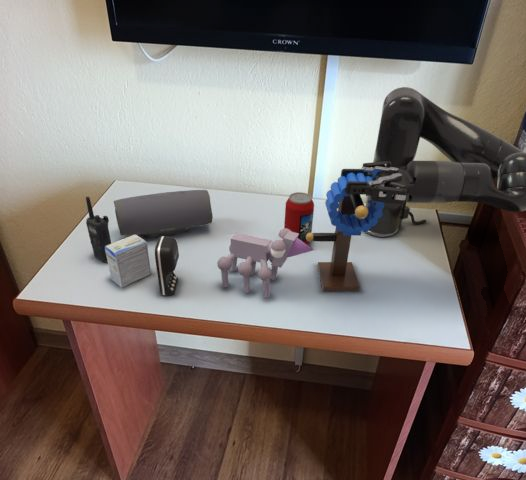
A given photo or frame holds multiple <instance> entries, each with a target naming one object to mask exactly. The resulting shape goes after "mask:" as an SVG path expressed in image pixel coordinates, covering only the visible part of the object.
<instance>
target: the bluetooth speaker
mask: <svg viewBox="0 0 526 480" xmlns="http://www.w3.org/2000/svg"><path fill="white" fill-rule="evenodd" d="M113 205H114V212H115V213H114V214H115V218H116V224H117V228H118V231H119V236H132V235H134V234H135V235H137V236H138V235H145V236H146V237H161V236H168V235H174V234H176V235H177V234H180V233H184V232H187V230H188V229H192V228H196V227H201V226H205V225H209V224H212V223H213V219H214V218H213V217H214V216H213V211H212V204H211V196H210V194H209V191H208V190H207V189H191V190H189V189H188V190H178V191H177V190H176V191H167V192H158V193H150V194H143V195H135V196H131V197H124V198H120V199H115V200H113Z"/></svg>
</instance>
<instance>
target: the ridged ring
mask: <svg viewBox="0 0 526 480" xmlns="http://www.w3.org/2000/svg"><path fill="white" fill-rule="evenodd" d="M348 181H366V182H367V184H368V182H370V181H373V180H372V178H371V177H370V176H366V177H365V176H364V174H363V173H358V174H357V175H356V176H355V174H354V173H349V174H348V175H347V176H346V177H345V176H341V175H340V176H339V177H338V179H337V181H334V182H332V183H331V184H330V189H329V190H327V192H326V195H325V197H326V200H325V203H324V204H325V207H326V211H327V215H328V217H329V220H330V224H331V226H333V227H335V229H336V228H337V230H338V231H340V232H341V231H343V234H344V236H351V237H354V236H357V237H359V236H360V237H361V236H362V232H365V233H366V232H367V231H369V230H370V228H371V226H375V225H376V224H377V223H378V220H377V219H379V218H381V217H382V215H383V212H382V209H383V208H384V203H383V202H377V201H372V200H369V203H368V204H369V206H367V209H368V215H367V217H366V218H364V219H359V218H357V217H356V215H355V214H353V215H351V216H350V217H349V216H348V215H346V214H344V215H342V213H341V212H339V211H338V208H339V202H341V201H343V199H344V196H349V195H350V194H346V192H345V189H346V183H347V182H348ZM370 198H372V197H370Z"/></svg>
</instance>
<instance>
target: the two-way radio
mask: <svg viewBox="0 0 526 480" xmlns="http://www.w3.org/2000/svg"><path fill="white" fill-rule="evenodd" d="M85 201H86V207H87V213H88V217H87V218H86V221H85V222H86V228H87V232H88V236H89V240H90V245H91V248H92V252H93V256H94V257H95V258H96V259H98V260H99V261H101V262H103V263H108V261H107V256H106V252H105V246H107V245H109V244H112V239H111V235H110V234H111V233H110V230H109V221H110V220H109V216H107V215H103V216H102V217H101V216H100V215H99V214H96V215H95V214H94V210H93V206H92V202H91V198H90V196H85Z"/></svg>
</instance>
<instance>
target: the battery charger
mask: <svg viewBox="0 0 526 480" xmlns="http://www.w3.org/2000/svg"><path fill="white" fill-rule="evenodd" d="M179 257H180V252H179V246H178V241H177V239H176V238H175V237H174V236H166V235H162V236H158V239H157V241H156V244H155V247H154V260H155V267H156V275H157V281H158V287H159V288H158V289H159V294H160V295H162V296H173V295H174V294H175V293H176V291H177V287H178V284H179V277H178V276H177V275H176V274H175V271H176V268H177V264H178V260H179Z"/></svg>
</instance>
